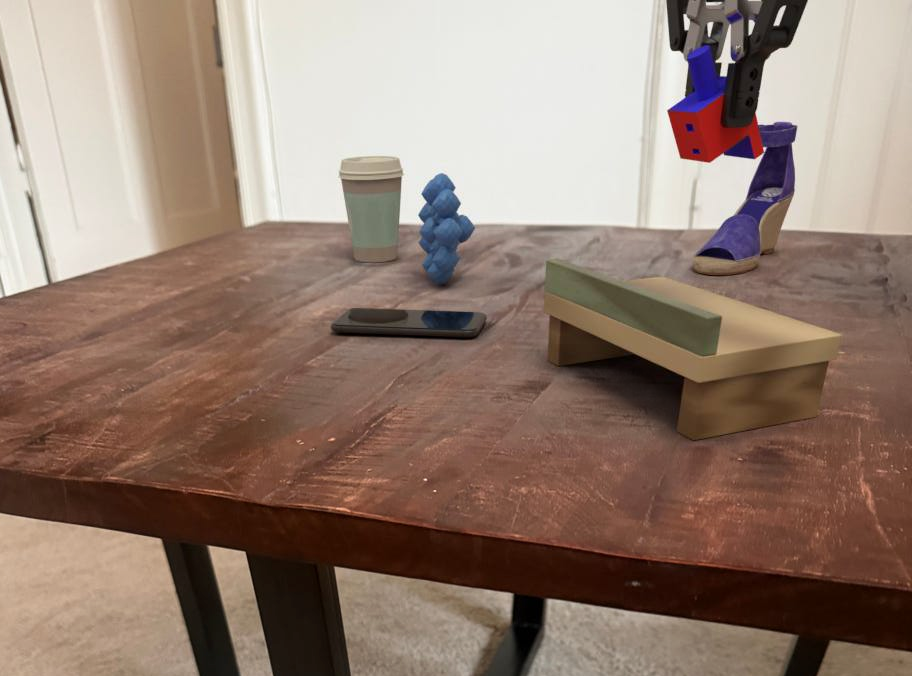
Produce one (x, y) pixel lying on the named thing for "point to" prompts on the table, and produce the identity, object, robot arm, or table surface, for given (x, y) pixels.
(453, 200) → the grapes
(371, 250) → the coffee cup
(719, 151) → the toy building block
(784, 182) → the sandal
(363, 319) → the smartphone
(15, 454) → the table surface
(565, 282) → the shoe shelf
